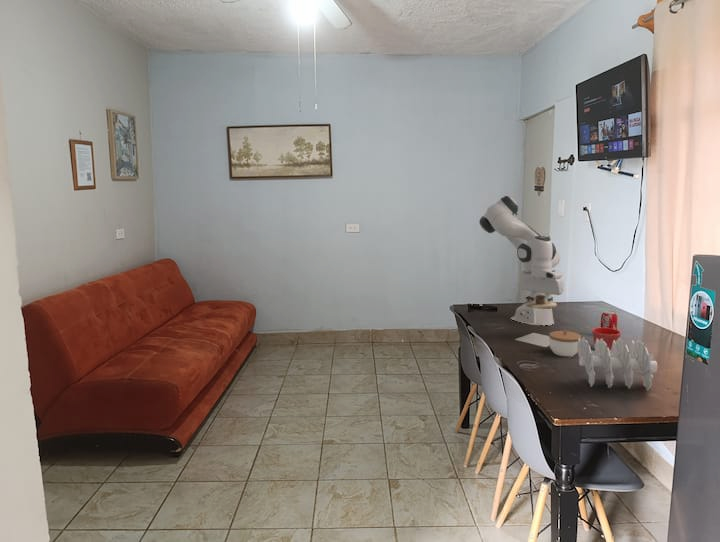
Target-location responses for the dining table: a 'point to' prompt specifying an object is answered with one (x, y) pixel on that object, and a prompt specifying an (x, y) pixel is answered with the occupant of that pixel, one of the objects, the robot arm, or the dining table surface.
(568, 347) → the lidded bowl
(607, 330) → the flower pot
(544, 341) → the mat
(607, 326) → the soda can
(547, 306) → the lid
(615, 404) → the dining table surface
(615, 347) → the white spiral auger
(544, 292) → the robot arm
